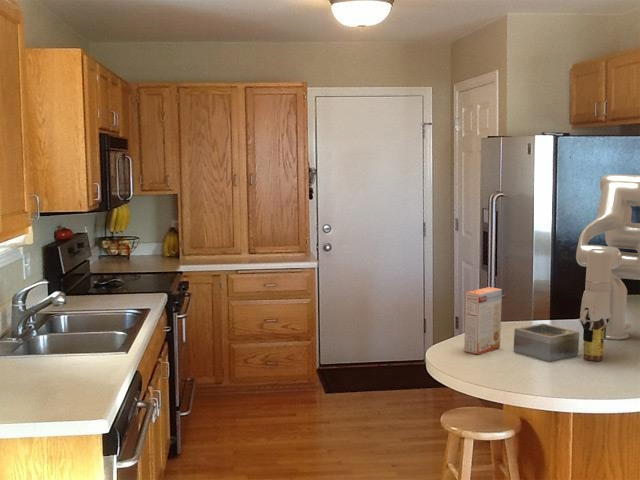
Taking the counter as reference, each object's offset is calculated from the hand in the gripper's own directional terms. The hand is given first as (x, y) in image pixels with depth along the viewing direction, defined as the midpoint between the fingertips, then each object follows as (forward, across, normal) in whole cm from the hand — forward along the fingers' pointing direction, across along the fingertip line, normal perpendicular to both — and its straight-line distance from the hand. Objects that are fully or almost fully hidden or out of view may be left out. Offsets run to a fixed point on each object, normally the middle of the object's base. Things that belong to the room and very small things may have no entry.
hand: (594, 339), depth 260 cm
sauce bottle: (+7, 0, 0) cm, 7 cm away
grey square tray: (+7, +7, -13) cm, 16 cm away
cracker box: (+7, +23, -28) cm, 37 cm away
